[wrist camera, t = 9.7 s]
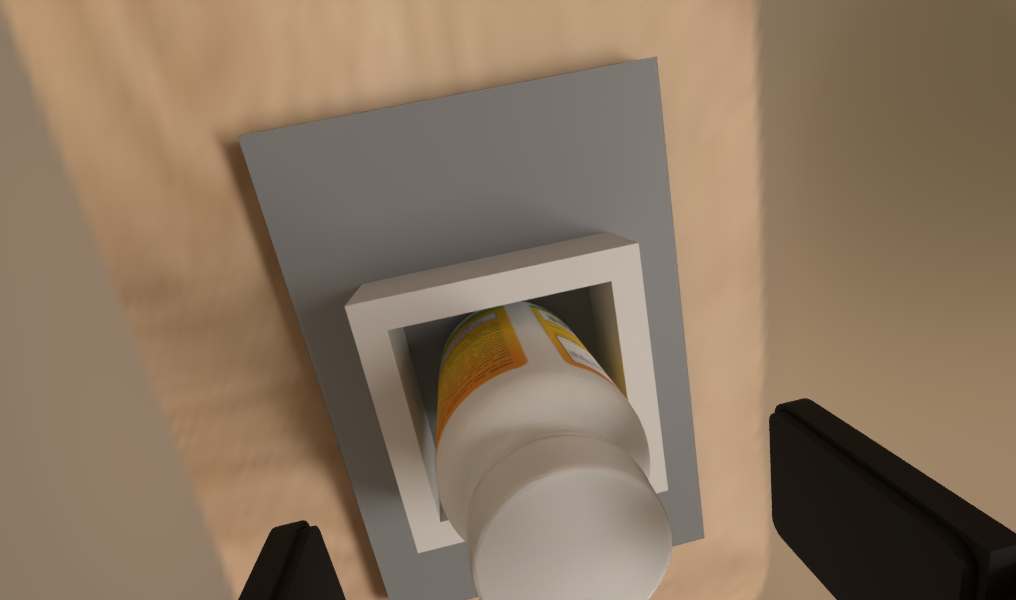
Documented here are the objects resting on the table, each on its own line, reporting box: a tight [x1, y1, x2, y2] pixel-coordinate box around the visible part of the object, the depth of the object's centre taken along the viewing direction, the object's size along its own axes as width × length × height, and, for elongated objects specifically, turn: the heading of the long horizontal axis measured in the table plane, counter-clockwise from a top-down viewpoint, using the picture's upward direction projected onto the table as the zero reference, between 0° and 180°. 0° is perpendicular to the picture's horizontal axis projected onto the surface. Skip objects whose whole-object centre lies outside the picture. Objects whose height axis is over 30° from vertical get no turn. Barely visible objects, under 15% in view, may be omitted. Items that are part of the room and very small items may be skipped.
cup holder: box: [237, 57, 704, 600], centre depth 18 cm, size 20×14×4 cm
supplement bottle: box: [436, 301, 672, 600], centre depth 14 cm, size 5×5×10 cm
